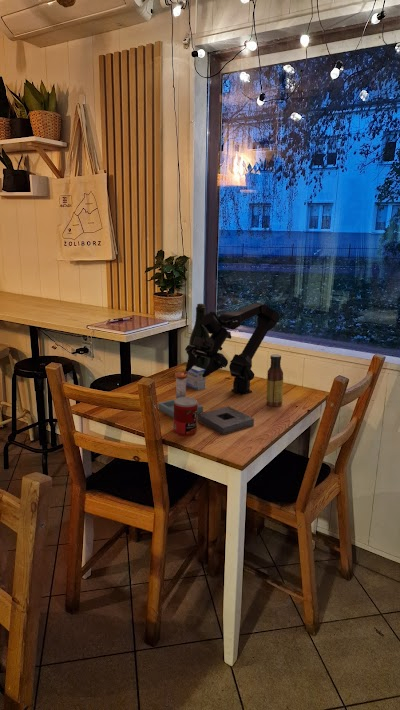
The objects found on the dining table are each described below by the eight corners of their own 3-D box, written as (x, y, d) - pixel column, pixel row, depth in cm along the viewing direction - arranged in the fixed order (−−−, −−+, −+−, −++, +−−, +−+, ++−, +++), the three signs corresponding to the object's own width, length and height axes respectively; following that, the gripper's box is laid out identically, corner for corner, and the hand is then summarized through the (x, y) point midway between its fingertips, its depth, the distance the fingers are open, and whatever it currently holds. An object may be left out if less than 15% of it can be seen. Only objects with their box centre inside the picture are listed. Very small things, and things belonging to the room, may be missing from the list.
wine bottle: (186, 375, 220) (187, 305, 211) (190, 369, 230) (191, 301, 221) (208, 377, 218) (210, 306, 209) (211, 371, 228) (214, 302, 219)
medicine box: (185, 385, 206) (186, 366, 204) (193, 383, 209) (193, 365, 207) (197, 390, 200) (198, 371, 198) (205, 388, 203) (206, 369, 201)
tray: (184, 403, 186) (184, 397, 185) (202, 412, 177) (203, 406, 176) (158, 409, 179) (158, 403, 178) (176, 419, 170) (176, 413, 169)
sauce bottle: (283, 402, 189) (287, 354, 184) (280, 407, 184) (284, 358, 178) (267, 400, 191) (270, 352, 186) (263, 405, 186) (267, 356, 180)
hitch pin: (186, 407, 180) (187, 371, 176) (187, 411, 176) (187, 375, 172) (174, 407, 180) (174, 371, 176) (174, 411, 175) (175, 375, 172)
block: (228, 412, 178) (228, 406, 177) (253, 425, 167) (254, 418, 166) (197, 420, 169) (198, 414, 169) (222, 434, 159) (223, 427, 158)
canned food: (188, 438, 155) (189, 406, 152) (168, 432, 159) (169, 401, 156) (201, 430, 161) (202, 400, 159) (181, 425, 165) (182, 395, 163)
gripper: (188, 324, 185) (166, 356, 180) (223, 332, 172) (201, 367, 167) (203, 341, 192) (182, 372, 187) (237, 350, 179) (216, 384, 175)
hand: (194, 373), depth 179 cm, fingers open, 9 cm apart
